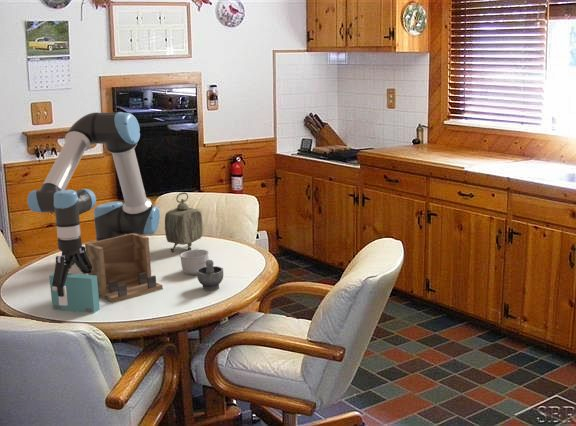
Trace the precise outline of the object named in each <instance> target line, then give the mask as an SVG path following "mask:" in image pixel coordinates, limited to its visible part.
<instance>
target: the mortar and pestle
mask: <svg viewBox="0 0 576 426" xmlns="http://www.w3.org/2000/svg"><path fill="white" fill-rule="evenodd" d="M206 265H207V266H206V267H202V268H199V269H197V275H196V277H197V281H198V282H199V283H200V284H201V285H202V290H203V291H205V292H215V291H218V290H220V284H221V283H222V281H223V279H224V268H223V267H221V266H217V265H216V266H215V265H214V260H212V259H209V260H207V261H206Z"/></svg>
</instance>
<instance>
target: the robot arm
mask: <svg viewBox="0 0 576 426" xmlns="http://www.w3.org/2000/svg"><path fill="white" fill-rule="evenodd" d="M140 131H141V129H140V123H139V122H138V120H137V118H136V116H134V115H133V114H132V113H130V112H123V111H118V112H90V113H88V114H85V115H84V116H82V117H80V118H79V119H78V120H77V121H75V122H74V123H73V124H72V126H70V128H69V129H68V130H67V133H65V136H64V141H65V143H64V144H63V146H62V148H61V150H60V151H59V153H58V156H57V157H56V159H55V161H54V162H53V165H52V167H51V168H50V170H49V172H48V174H47V176H46V177H45V179H44V181H43V183H42V185H41V187H40V188H39V189H33V190H32V191H31V190H30V192H29V193H28V194H27V198H26V199H27V201H26V202H27V206H28V208H29V210H30V211H32V212H35V213H43V214H44V213H54V216H55V217H54V218H55V224H56V225H55V226H56V235H57V238H58V239H57V248H58V250H59V251H60V252H61V255H59V256H58V255H56V256H55V267H54V272H53V273H54V277H53V283H52V286H54V287H57V291H58V297H59V305H64V306H67V305H68V302H67V292H66V286H64V284H65V281H66V278H67V275H68V273H70V269H71V268H72V266H73V265H76V267H77V268H78V269H79V270H80V272H81V273H80V274H82V275H89V273H91V272H92V265H91V263H90V261H89V258H88V256H87V254H86V249H85V245H82V244H83V242H82V237H81V235H82V231H81V223H80V215H82V214H85V213H86V212H89V211H90V210H91V209H93V208H94V207H95V208H94V209H93V219H94V229H95V239H96V241H100V240H104V239H109V238H113V237H118V236H122V235H127V234H131V233H136V234H139V235H142V236H150V235H151V236H152V235H154V234H155V233H156V232H157V230H158V228H159V224H160V218H161V217H160V215H161V214H160V208H159V207H158V206H155V205H152V204H153V203H152V200H151V199H150V198H149V197H147V194H146V191H145V187H144V183H143V179H142V175H141V172H140V171H141V170H140V166H139V162H138V158H137V155H136V150H135V149H136V146H137V145H138V142H139V140H140V138H141V133H140ZM95 144H98V145H99V144H100V145H102V144H104V145H105V147H106V151H107V153H111V155H112V158H113V159H112V160H113V161H114V162H113V163H114V166H115V170H116V174H117V178H118V181H119V185H120V188H121V192H122V196H123V200H124V203H123V202H122V201H111V202H110V201H109V202H106V203H105V202H104V203H102V204H98V205H97V206H96V203H97V197H96V194H95V192H94V191H92V190H90V189H89V188H80V189H78V190H73V189H67V187H68V185H69V183H70V180H71V179H72V177H73V175H74V173H75V172H76V168H77V167H78V165H79V163H80V162H81V159H82V157H83V155H84V154H85V152H86V151H88V150H90V148H91V146H92V145H95ZM87 265H88V266H87ZM61 282H62V283H61Z"/></svg>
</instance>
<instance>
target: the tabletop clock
mask: <svg viewBox="0 0 576 426" xmlns="http://www.w3.org/2000/svg"><path fill="white" fill-rule="evenodd" d="M181 195H186V198H185V199H183V198H182V199H180V201H179V200H178V199H179V197H180V196H181ZM188 199H189V195H188V193H187V192H180V193H178V194H177V195H176V199H175V200H176V202H177V203H178V204H177V206H176V207H175V208H172V209H170V210H168V211H167V212H166V213H165V214H164V215H165V216H164V231H165V238H166V241H167V242H168V243H172V244H174V245H173V247H172V248H170V252H171V253H173V252H175V248H176V247H177V246H178V245H183V246H184V245H187V251H189V250H192V247H191V246H192V243H194V242H196V241H198V240H201V238H203V237H202V236H203V216H202V212H201V211H200V210H199V209H198V208H191V207H190V206H189V204H187V203H186V201H188Z"/></svg>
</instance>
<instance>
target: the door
mask: <svg viewBox="0 0 576 426" xmlns="http://www.w3.org/2000/svg"><path fill="white" fill-rule="evenodd" d="M48 277H49V287H50V295H51V297H50V298H51V305H52V306H51V307H52V308H51V309H52V310H55V309H56V310H55V311H66V310H67V311H68V312H79V313H88V314H89V313H90V314H91V313H92V314H96V312H99V311H100V310H101V307H100V297H99V294H98V283H97V276H96V275H82V274H81V273H70V272H68V275H67V278H66V281H65V284H64V286H66V292H67V302H68V305H67V306H64V305H59V297H58V291H57V287H54V286H52V283H53V277H54V272H53V273H52V274H49V276H48ZM61 283H62V282H61Z"/></svg>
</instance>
